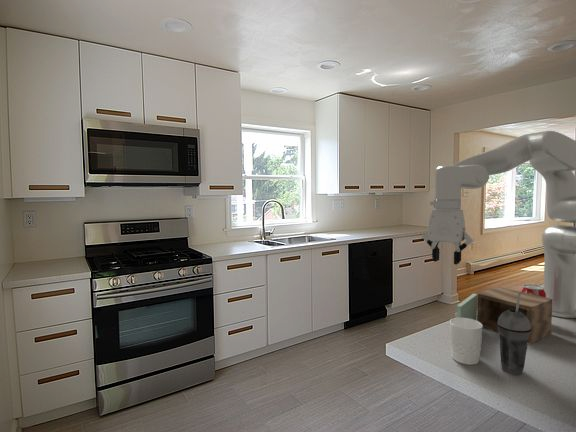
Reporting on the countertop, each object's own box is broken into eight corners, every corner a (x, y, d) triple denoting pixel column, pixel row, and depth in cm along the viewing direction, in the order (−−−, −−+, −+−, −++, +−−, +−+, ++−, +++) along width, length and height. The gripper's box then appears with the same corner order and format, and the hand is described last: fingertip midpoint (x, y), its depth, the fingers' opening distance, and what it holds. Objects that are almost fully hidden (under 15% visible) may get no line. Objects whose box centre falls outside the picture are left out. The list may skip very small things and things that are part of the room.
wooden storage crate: (498, 317, 123) (499, 286, 122) (550, 333, 110) (552, 299, 109) (476, 325, 117) (477, 293, 116) (530, 343, 103) (531, 307, 102)
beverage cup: (488, 364, 92) (491, 289, 90) (515, 362, 92) (518, 288, 91) (508, 379, 85) (511, 298, 83) (537, 377, 85) (540, 297, 83)
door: (477, 324, 116) (477, 293, 115) (460, 340, 104) (460, 306, 104) (469, 322, 118) (470, 292, 117) (452, 338, 106) (453, 305, 105)
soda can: (549, 325, 115) (550, 290, 114) (525, 324, 117) (526, 289, 116) (538, 318, 122) (540, 284, 121) (516, 316, 124) (517, 283, 123)
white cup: (478, 354, 97) (479, 319, 97) (484, 368, 90) (485, 330, 89) (447, 350, 100) (448, 316, 99) (450, 363, 93) (451, 326, 92)
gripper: (415, 205, 113) (414, 260, 115) (473, 206, 101) (471, 268, 103) (425, 204, 119) (424, 257, 120) (481, 205, 107) (479, 264, 108)
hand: (446, 261), depth 111 cm, fingers open, 5 cm apart
